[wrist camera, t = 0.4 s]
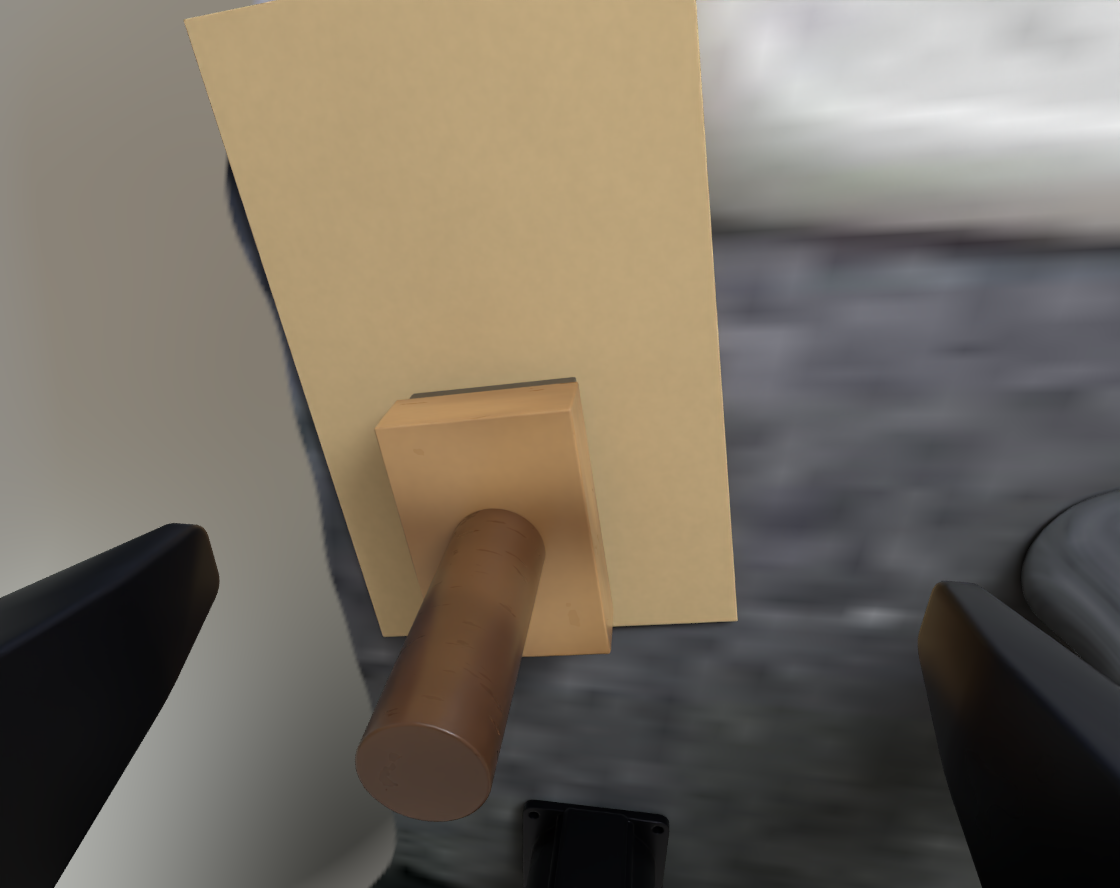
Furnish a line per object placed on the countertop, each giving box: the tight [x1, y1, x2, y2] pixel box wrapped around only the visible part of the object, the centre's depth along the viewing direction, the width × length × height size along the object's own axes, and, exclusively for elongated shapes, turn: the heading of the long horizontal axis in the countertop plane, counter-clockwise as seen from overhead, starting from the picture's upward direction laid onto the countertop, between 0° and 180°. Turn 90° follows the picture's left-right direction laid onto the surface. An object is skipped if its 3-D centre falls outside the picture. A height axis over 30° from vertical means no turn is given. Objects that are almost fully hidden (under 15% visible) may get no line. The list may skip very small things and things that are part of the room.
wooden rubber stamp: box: [355, 377, 614, 822], centre depth 21 cm, size 9×6×12 cm, turn 9°
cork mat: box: [184, 0, 737, 637], centre depth 24 cm, size 22×14×1 cm, turn 9°
